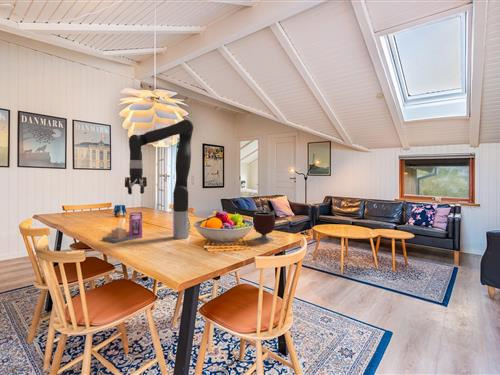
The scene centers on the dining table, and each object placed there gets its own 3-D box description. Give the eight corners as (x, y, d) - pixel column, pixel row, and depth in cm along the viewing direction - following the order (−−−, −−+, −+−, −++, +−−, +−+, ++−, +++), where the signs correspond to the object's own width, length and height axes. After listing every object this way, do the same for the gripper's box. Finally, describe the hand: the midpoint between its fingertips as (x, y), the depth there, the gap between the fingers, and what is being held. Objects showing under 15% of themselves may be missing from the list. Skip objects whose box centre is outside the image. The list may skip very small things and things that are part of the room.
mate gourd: (248, 240, 173) (249, 208, 172) (260, 236, 185) (260, 206, 184) (270, 244, 165) (270, 211, 164) (280, 239, 176) (281, 208, 175)
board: (121, 236, 178) (121, 224, 178) (134, 238, 172) (134, 226, 171) (102, 240, 167) (102, 227, 166) (115, 243, 160) (115, 230, 160)
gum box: (142, 238, 173) (142, 217, 173) (128, 239, 170) (128, 218, 170) (142, 231, 196) (142, 212, 195) (130, 231, 193) (129, 212, 192)
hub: (119, 235, 173) (119, 228, 173) (126, 236, 170) (126, 229, 169) (111, 237, 168) (111, 229, 168) (118, 238, 165) (118, 231, 165)
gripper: (141, 168, 178) (141, 193, 178) (121, 167, 165) (121, 194, 166) (149, 168, 174) (149, 193, 175) (130, 167, 161) (130, 195, 162)
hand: (136, 193), depth 170 cm, fingers open, 8 cm apart
